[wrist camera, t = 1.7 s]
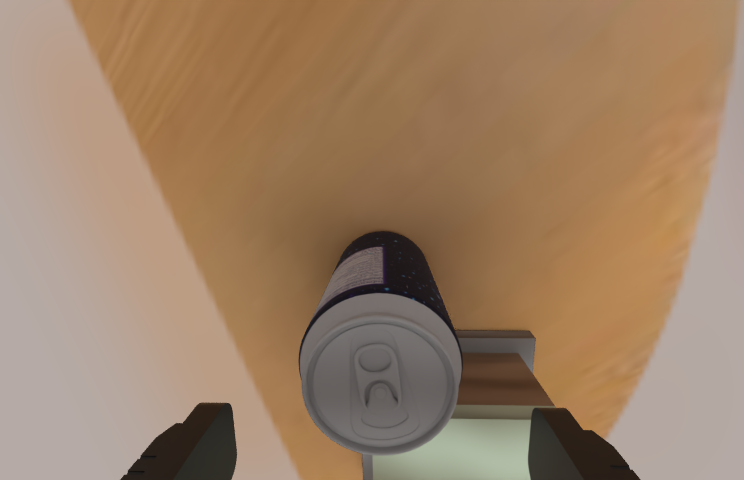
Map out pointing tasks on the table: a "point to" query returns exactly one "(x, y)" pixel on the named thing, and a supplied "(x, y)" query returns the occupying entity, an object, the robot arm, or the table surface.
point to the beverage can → (381, 351)
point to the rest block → (479, 417)
